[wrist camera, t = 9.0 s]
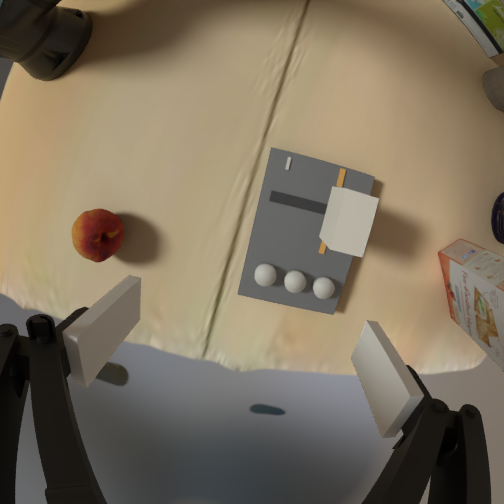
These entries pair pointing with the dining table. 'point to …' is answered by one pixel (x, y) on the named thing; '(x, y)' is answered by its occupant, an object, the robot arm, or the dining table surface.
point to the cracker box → (476, 294)
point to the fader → (348, 221)
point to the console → (297, 234)
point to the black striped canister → (498, 218)
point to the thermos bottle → (495, 86)
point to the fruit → (97, 234)
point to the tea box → (483, 22)
